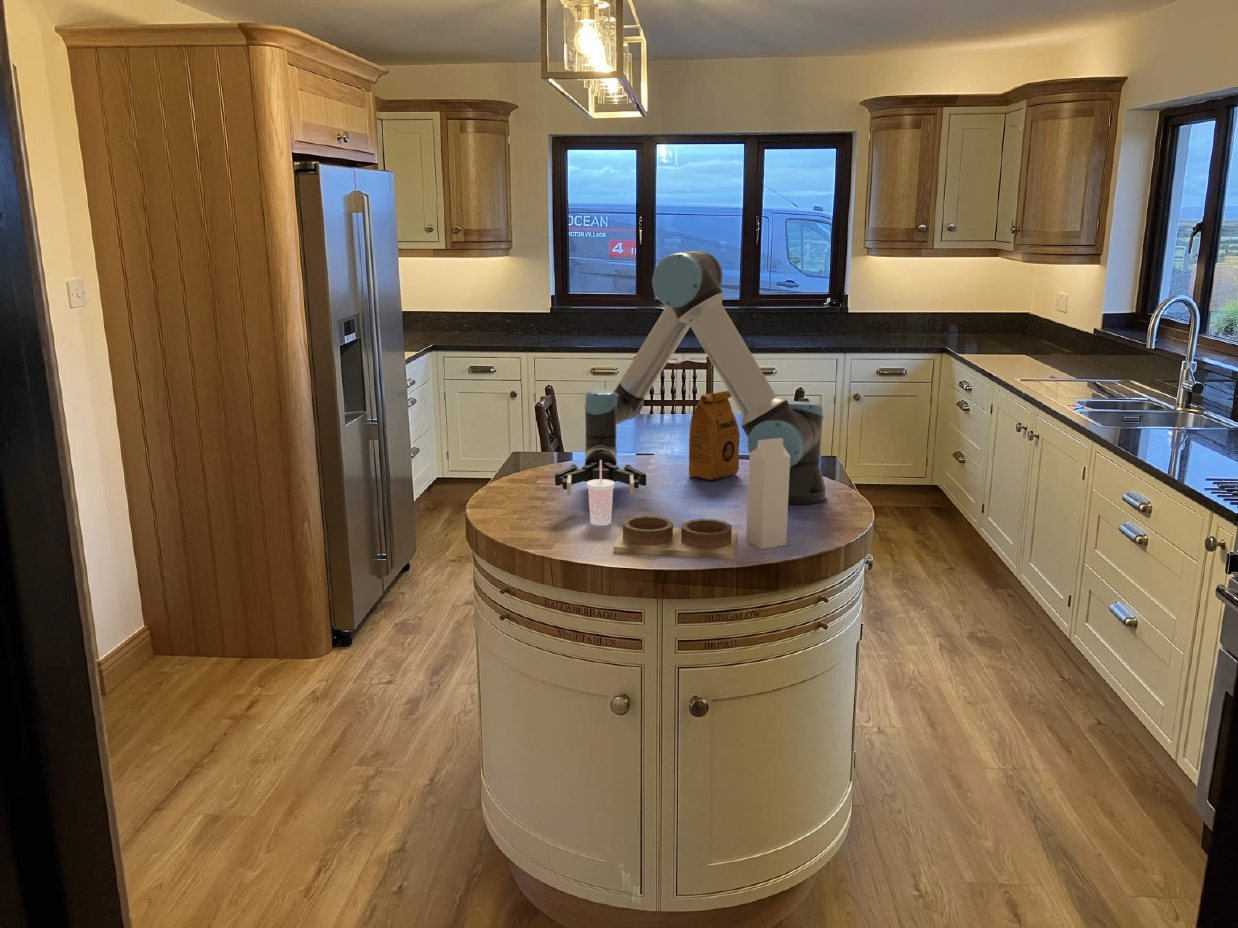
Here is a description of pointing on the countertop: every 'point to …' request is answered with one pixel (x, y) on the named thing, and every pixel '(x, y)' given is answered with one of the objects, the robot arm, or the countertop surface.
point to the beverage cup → (600, 499)
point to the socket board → (677, 538)
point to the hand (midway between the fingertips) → (600, 489)
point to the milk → (768, 494)
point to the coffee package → (713, 438)
